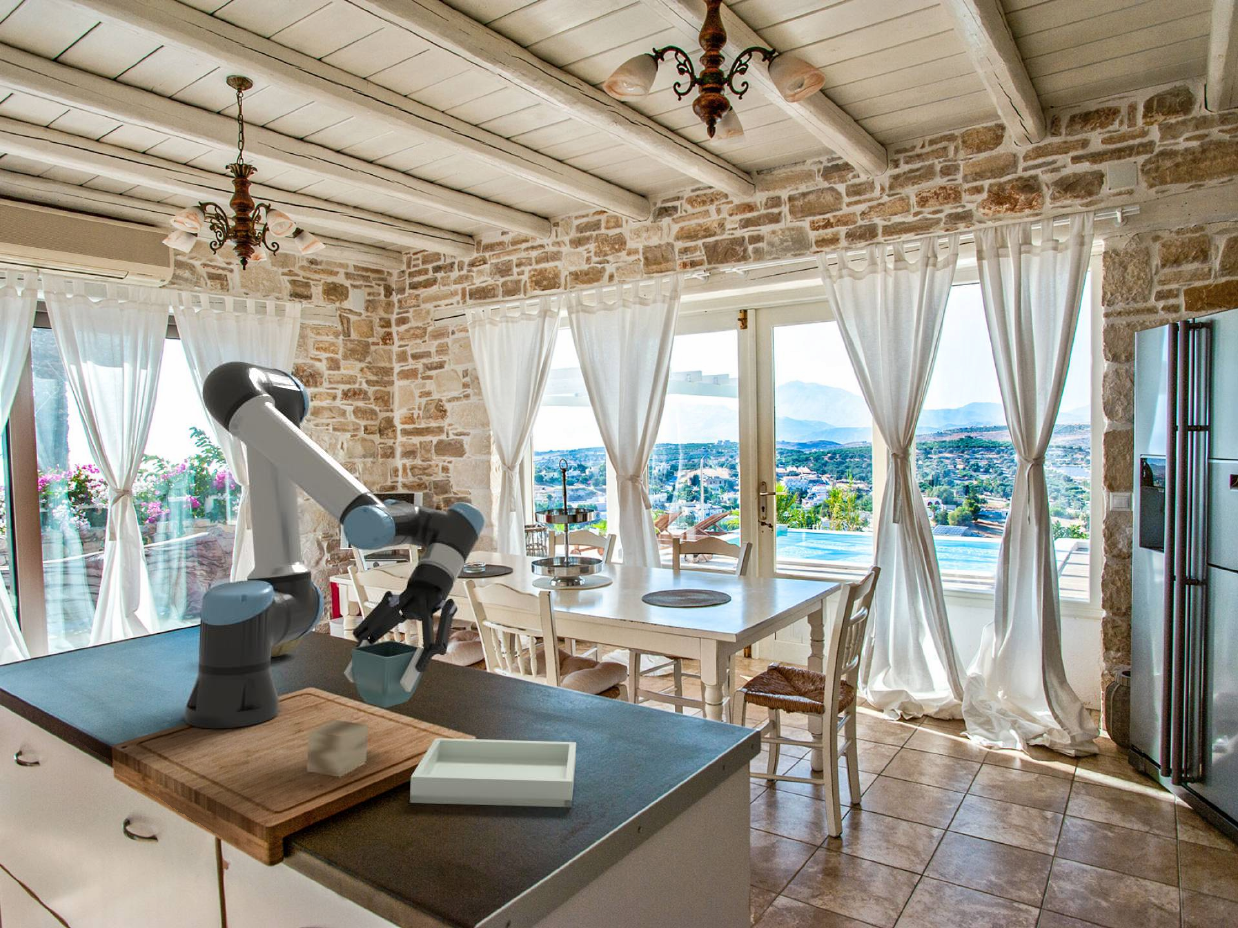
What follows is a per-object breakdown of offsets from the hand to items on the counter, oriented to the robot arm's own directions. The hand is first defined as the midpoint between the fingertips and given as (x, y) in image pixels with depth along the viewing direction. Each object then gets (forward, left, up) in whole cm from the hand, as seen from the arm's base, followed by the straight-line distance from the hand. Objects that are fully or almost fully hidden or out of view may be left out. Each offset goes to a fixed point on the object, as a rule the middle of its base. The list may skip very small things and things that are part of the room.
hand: (376, 682), depth 128 cm
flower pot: (+1, +3, -4) cm, 5 cm away
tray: (+22, -12, -11) cm, 27 cm away
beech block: (-3, -8, -11) cm, 14 cm away
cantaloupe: (-41, +61, -11) cm, 74 cm away
